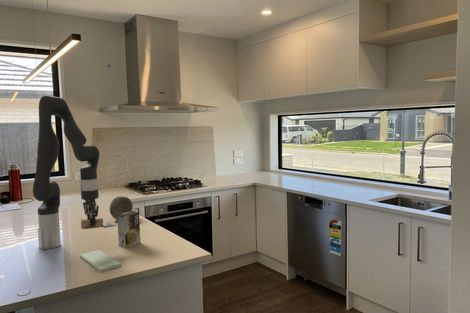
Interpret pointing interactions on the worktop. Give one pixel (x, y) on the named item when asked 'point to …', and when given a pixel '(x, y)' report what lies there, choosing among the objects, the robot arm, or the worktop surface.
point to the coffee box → (128, 229)
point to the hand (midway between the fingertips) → (91, 224)
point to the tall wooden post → (99, 223)
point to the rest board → (100, 260)
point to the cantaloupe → (120, 206)
